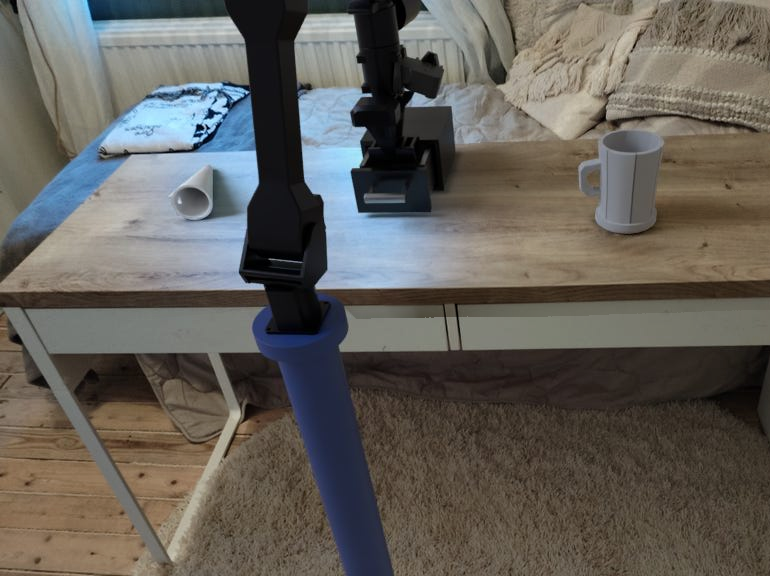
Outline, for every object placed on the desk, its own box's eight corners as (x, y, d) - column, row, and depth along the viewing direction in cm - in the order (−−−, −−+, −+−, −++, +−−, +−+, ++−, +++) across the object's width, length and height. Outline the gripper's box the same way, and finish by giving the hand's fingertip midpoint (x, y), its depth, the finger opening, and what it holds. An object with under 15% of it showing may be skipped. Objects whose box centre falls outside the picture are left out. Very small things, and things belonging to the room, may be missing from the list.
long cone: (245, 176, 128) (218, 216, 112) (211, 182, 128) (179, 223, 112) (233, 145, 125) (204, 181, 109) (199, 151, 125) (164, 189, 109)
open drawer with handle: (426, 226, 104) (421, 183, 99) (351, 226, 105) (342, 184, 101) (443, 174, 117) (439, 134, 113) (377, 174, 119) (370, 135, 114)
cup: (616, 246, 98) (621, 164, 90) (572, 222, 104) (574, 143, 96) (669, 221, 102) (678, 141, 95) (624, 200, 108) (630, 123, 101)
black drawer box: (444, 190, 115) (438, 139, 109) (368, 191, 116) (359, 141, 111) (455, 153, 126) (451, 105, 120) (386, 155, 127) (379, 107, 122)
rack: (421, 150, 109) (419, 135, 108) (415, 163, 106) (413, 148, 104) (377, 151, 110) (374, 136, 109) (370, 164, 106) (367, 149, 105)
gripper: (425, 61, 89) (437, 177, 99) (446, 22, 104) (455, 126, 113) (339, 64, 91) (360, 178, 100) (372, 25, 105) (387, 128, 115)
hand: (394, 151), depth 107 cm, fingers closed on rack, 5 cm apart
